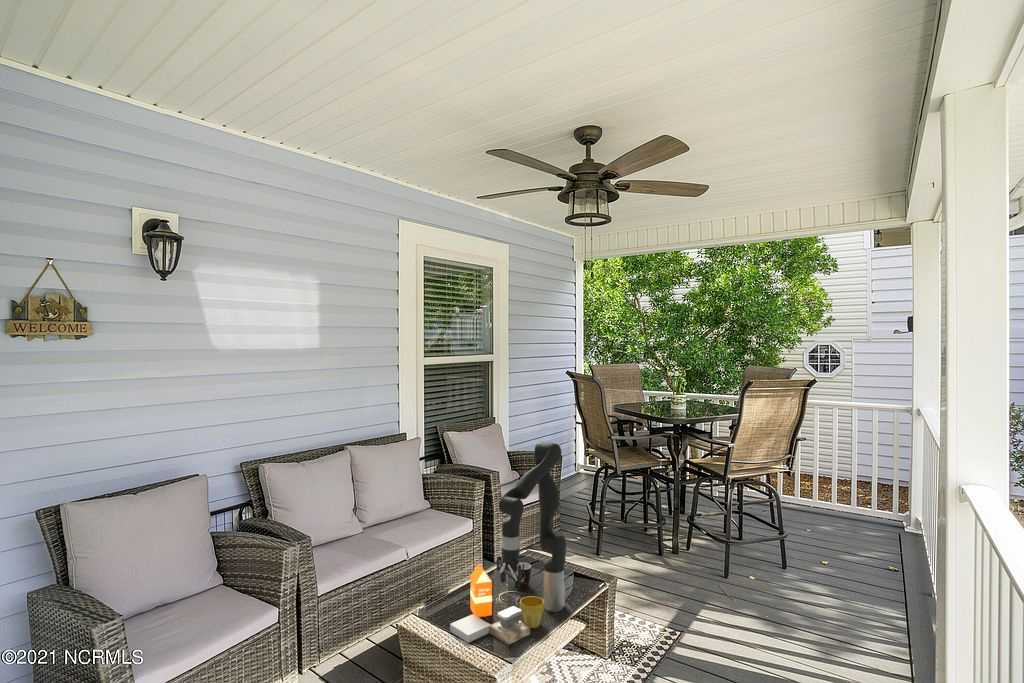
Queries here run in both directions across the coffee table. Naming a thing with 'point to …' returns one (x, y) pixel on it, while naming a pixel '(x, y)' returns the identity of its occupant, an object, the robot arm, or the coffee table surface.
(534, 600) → the plant pot
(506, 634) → the stand
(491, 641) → the coffee table surface
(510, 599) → the coffee table surface
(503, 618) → the block
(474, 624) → the stand
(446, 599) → the coffee table surface
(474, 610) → the orange juice
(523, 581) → the coffee mug
